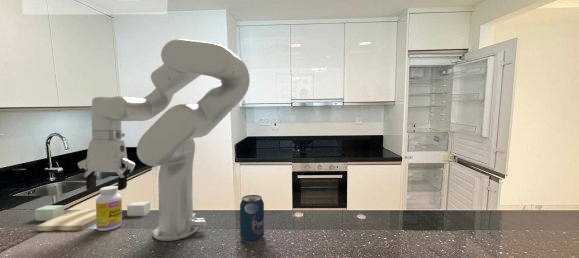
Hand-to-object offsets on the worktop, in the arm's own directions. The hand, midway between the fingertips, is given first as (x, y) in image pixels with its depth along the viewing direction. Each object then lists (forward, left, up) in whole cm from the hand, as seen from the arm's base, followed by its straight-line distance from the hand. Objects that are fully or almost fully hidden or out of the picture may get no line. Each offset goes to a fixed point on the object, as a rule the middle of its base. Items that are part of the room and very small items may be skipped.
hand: (106, 188), depth 77 cm
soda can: (-48, +9, -13) cm, 50 cm away
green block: (+25, -8, -13) cm, 29 cm away
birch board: (+13, -5, -13) cm, 19 cm away
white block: (-4, -11, -13) cm, 17 cm away
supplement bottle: (-1, 0, -13) cm, 13 cm away
